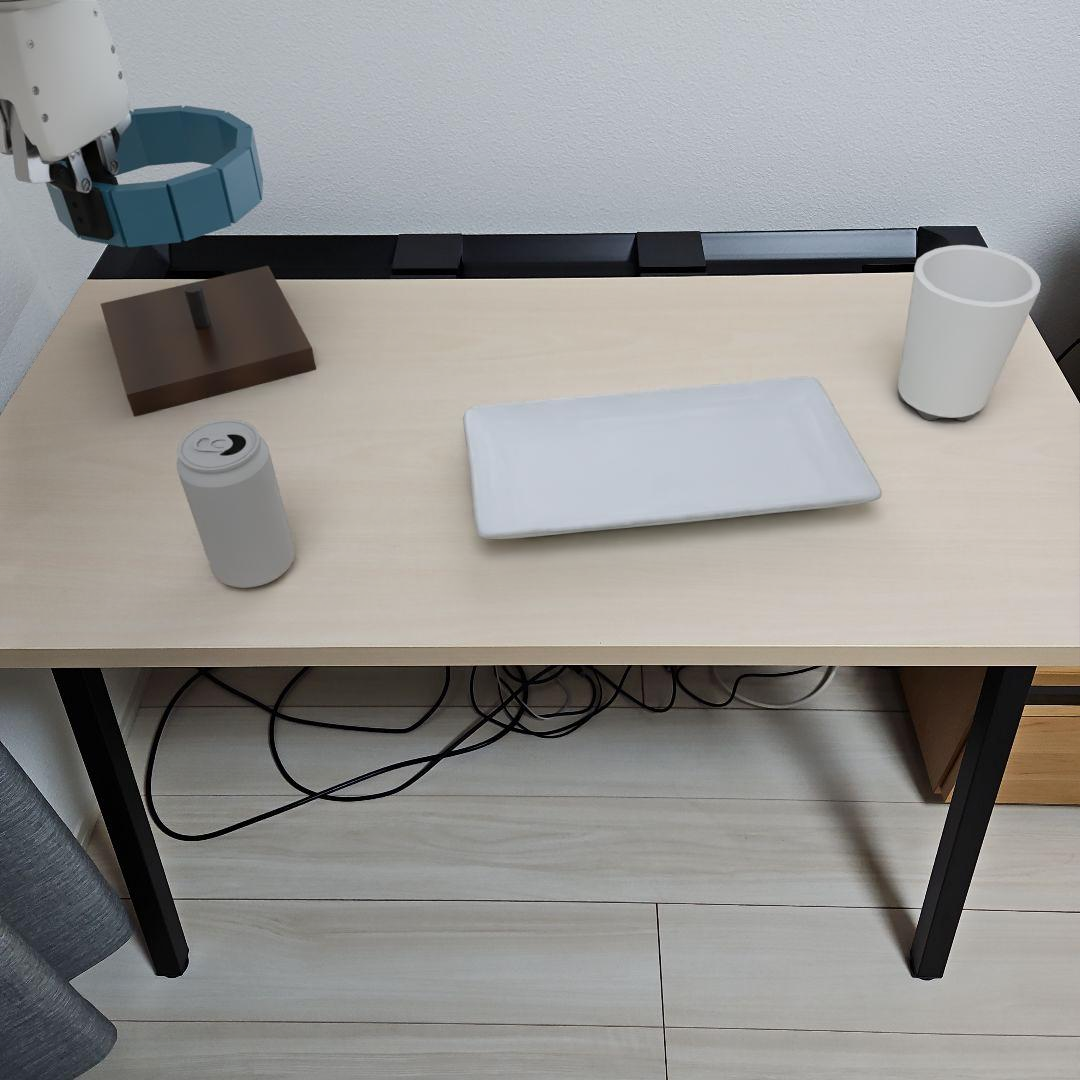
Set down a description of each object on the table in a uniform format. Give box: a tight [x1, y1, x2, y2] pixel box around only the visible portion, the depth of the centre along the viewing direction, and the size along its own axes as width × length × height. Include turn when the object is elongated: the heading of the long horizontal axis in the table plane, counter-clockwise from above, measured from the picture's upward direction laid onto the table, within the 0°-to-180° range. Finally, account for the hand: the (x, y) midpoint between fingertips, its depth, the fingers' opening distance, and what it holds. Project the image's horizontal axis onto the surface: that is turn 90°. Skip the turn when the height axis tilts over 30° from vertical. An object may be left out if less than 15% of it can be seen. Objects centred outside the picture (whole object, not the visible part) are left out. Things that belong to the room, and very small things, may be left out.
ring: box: [45, 104, 264, 248], centre depth 85 cm, size 17×17×4 cm
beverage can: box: [176, 418, 296, 589], centre depth 77 cm, size 6×6×12 cm
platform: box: [100, 265, 317, 417], centre depth 101 cm, size 17×17×6 cm
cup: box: [897, 244, 1042, 422], centre depth 90 cm, size 10×10×13 cm
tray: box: [462, 375, 883, 540], centre depth 86 cm, size 17×32×4 cm, turn 97°
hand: (103, 229), depth 81 cm, fingers closed on ring, 1 cm apart
